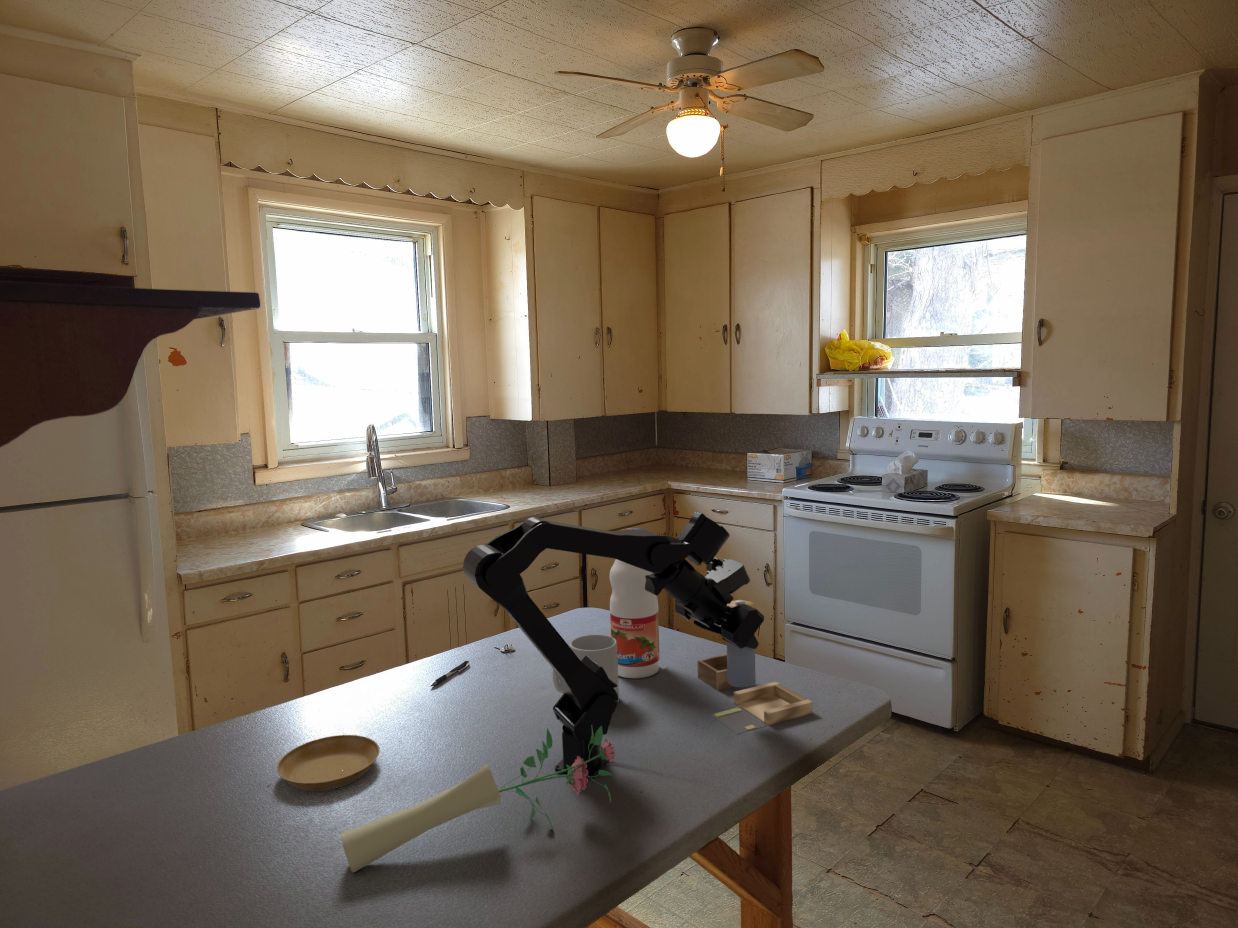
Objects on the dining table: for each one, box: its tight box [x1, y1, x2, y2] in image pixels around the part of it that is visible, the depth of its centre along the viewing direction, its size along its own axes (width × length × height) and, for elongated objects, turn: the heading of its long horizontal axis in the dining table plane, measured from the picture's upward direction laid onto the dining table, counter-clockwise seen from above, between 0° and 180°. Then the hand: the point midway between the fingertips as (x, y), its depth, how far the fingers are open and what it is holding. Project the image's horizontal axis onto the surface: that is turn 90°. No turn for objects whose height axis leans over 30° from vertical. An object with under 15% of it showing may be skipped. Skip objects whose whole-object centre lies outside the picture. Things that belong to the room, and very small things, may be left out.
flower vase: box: [340, 725, 616, 874], centre depth 103 cm, size 12×12×35 cm
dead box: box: [697, 653, 736, 692], centre depth 149 cm, size 7×7×4 cm
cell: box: [726, 599, 757, 688], centre depth 132 cm, size 5×5×14 cm
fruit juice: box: [609, 527, 661, 679], centre depth 156 cm, size 9×9×28 cm
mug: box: [551, 634, 620, 703], centre depth 142 cm, size 12×8×11 cm
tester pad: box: [710, 706, 768, 735], centre depth 133 cm, size 6×8×1 cm
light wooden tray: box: [733, 681, 813, 727], centre depth 137 cm, size 9×10×3 cm
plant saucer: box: [276, 734, 381, 792], centre depth 122 cm, size 15×15×3 cm
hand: (747, 641), depth 132 cm, fingers closed on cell, 5 cm apart
